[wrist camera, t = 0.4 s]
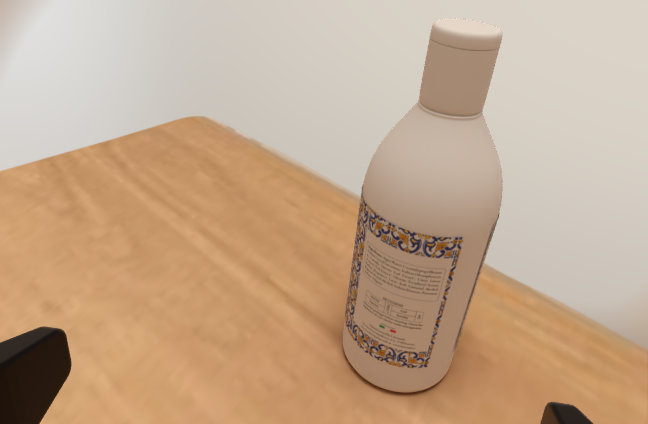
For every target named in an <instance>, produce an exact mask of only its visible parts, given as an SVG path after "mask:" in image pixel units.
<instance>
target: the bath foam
mask: <svg viewBox="0 0 648 424" xmlns="http://www.w3.org/2000/svg"><path fill="white" fill-rule="evenodd" d="M501 40H502V31H501V29H499V28H498V27H496V26H494V25H491V24H488V23H483V22H479V21H474V20H466V19H440V20H437V21H435V22H434V24H433V26H432V29H431V35H430V40H429V45H428V51H427V56H426V61H425V67H424V72H423V78H422V83H421V89H420V97H419V101H418V103H417V104H416V105H415V106H414V107H413V108H412V109H411V110H410V111H409V112H408V113H407V114H406V115H405V116H404V117H403V118H402V119H401V120H400V121H399V122H398V123H397V124H396V125H395V127H394V128H393V129H392V130H391V131H390V132H389V133H388V135H387V136H386V137H385V138H384V140H383V141H382V142H381V144H380V145H379V147H378V148H377V150H376V152H375V154H374V155H373V158H372V160H371V162H370V164H369V167H368V170H367V173H366V176H365V180H364V184H363V187H362V194H361V201H360V208H359V216H358V223H357V231H356V238H355V246H354V253H353V261H352V268H351V276H350V283H349V291H348V298H347V306H346V313H345V323H344V330H343V348H344V352H345V355H346V357H347V359H348V361H349V362H350V364H351V365H352V366H353V368H354V369H355V370H356V371H357V372H358V373H359V374H360V375H361V376H362V377H363V378H364V379H366V380H367V381H369V382H370V383H372V384H374V385H376V386H378V387H381V388H383V389H386V390H390V391H395V392H416V391H421V390H424V389H427V388H429V387H431V386H433V385H435V384H436V383H438V382H439V381H440V380H441V379H442V378H443V377H444V376H445V374H446V373H447V371H448V369H449V367H450V365H451V362H452V359H453V356H454V353H455V349H456V347H457V344H458V341H459V338H460V335H461V332H462V329H463V326H464V323H465V319H466V316H467V313H468V310H469V307H470V304H471V301H472V298H473V295H474V292H475V288H476V285H477V282H478V279H479V276H480V273H481V270H482V267H483V264H484V261H485V257H486V254H487V251H488V248H489V245H490V242H491V239H492V236H493V232H494V229H495V226H496V222H497V220H498V217H499V211H500V206H501V199H502V171H501V166H500V161H499V158H498V154H497V151H496V148H495V145H494V143H493V140H492V137H491V135H490V132H489V129H488V127H487V124H486V122H485V119H484V116H483V114H482V109H483V106H484V103H485V100H486V96H487V92H488V89H489V85H490V81H491V78H492V74H493V70H494V66H495V63H496V58H497V55H498V51H499V47H500V43H501Z"/></svg>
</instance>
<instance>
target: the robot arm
mask: <svg viewBox="0 0 648 424" xmlns="http://www.w3.org/2000/svg"><path fill="white" fill-rule="evenodd" d="M70 370H71V357H70V352H69V347H68V342H67V337H66V334H65V332H64V331H63V330H61V329H58V328H51V327H39V328H37V329H34V330H32V331H29V332H26V333H24V334H21V335H19V336H16V337H14V338H11V339H9V340H6V341H3V342H1V343H0V424H40V422H41V420H42V419H43V417H44V415H45V414H46V412H47V410H48V409H49V407H50V405H51V404H52V402H53V400H54V399H55V397H56V396H57V394H58V392H59V391H60V389H61V387H62V386H63V384H64V382H65V381H66V379H67V377H68V375H69V373H70ZM541 424H593V423H592V422H591V421H590V420H589V419H588V418H587V417H586V416H585V415H584V414H583V413H582V412H581V411H580V410H579V409H578V408H576V407H575V406H573V405H570V404H563V403H557V402H550V403H548V404H547V405H546V407H545V410H544V413H543V417H542V420H541Z"/></svg>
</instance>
